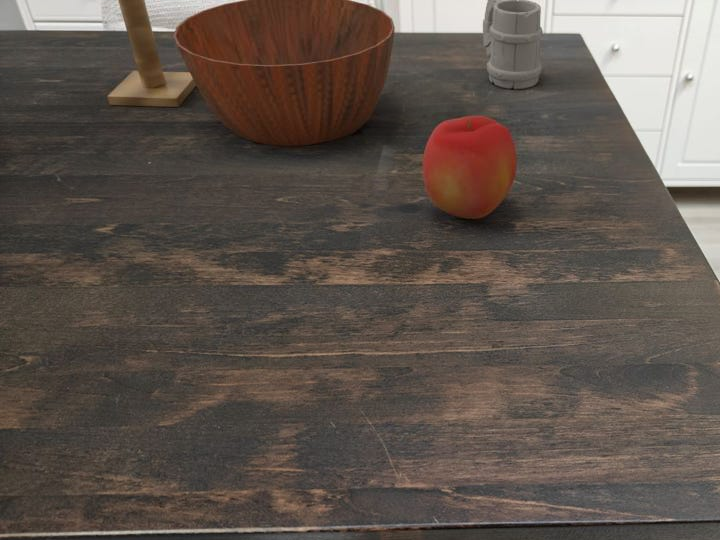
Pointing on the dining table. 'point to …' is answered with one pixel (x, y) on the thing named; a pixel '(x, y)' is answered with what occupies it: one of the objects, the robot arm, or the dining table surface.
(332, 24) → the bowl
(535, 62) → the mug
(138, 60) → the post
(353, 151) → the dining table surface
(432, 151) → the apple
